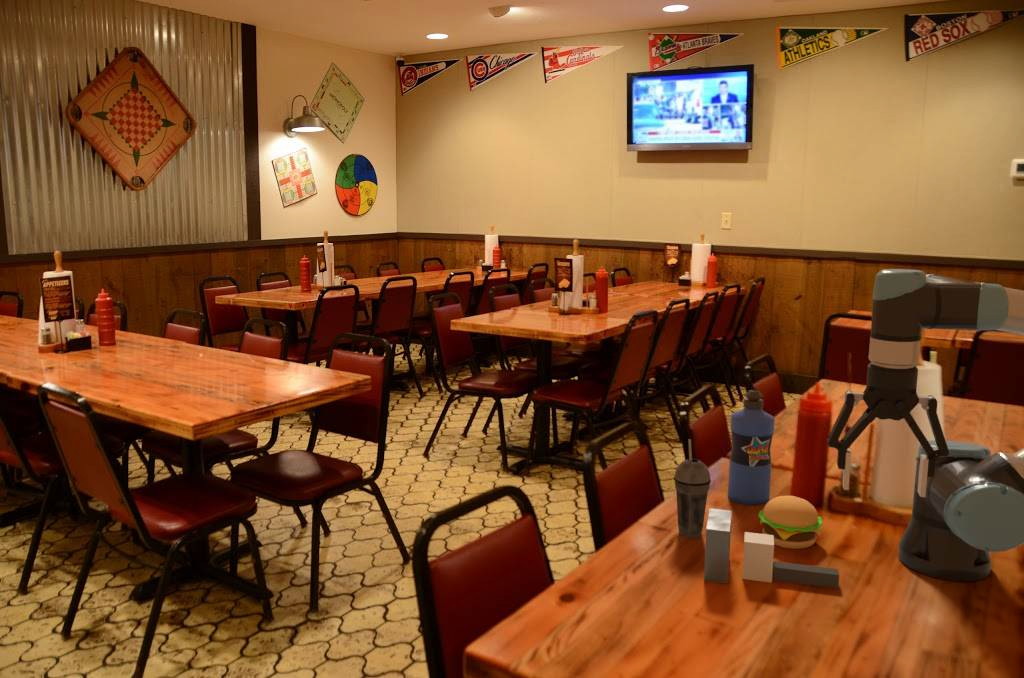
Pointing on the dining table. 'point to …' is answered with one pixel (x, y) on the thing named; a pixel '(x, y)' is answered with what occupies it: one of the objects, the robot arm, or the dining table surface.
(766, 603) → the dining table surface
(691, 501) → the beverage cup
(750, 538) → the beige and grey hammer
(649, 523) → the dining table surface
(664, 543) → the dining table surface
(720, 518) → the grey slab
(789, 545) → the hamburger
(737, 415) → the water bottle
